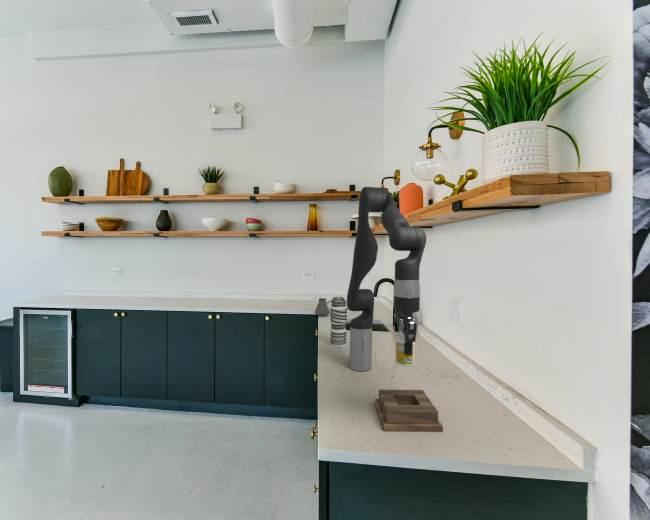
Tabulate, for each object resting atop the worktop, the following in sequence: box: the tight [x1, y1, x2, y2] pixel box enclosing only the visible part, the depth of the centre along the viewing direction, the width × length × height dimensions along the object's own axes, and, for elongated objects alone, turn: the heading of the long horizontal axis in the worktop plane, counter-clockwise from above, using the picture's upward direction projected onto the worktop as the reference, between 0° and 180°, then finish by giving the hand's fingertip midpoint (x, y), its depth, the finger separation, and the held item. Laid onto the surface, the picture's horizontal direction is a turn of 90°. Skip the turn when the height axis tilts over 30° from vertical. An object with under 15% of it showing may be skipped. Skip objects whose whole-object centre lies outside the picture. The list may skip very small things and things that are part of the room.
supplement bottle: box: [395, 329, 416, 367], centre depth 95 cm, size 5×5×10 cm
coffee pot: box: [314, 297, 332, 317], centre depth 245 cm, size 21×12×15 cm, turn 84°
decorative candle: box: [329, 296, 349, 348], centre depth 168 cm, size 9×9×25 cm
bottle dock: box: [374, 388, 444, 433], centre depth 95 cm, size 16×16×5 cm
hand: (405, 351), depth 95 cm, fingers closed on supplement bottle, 5 cm apart
